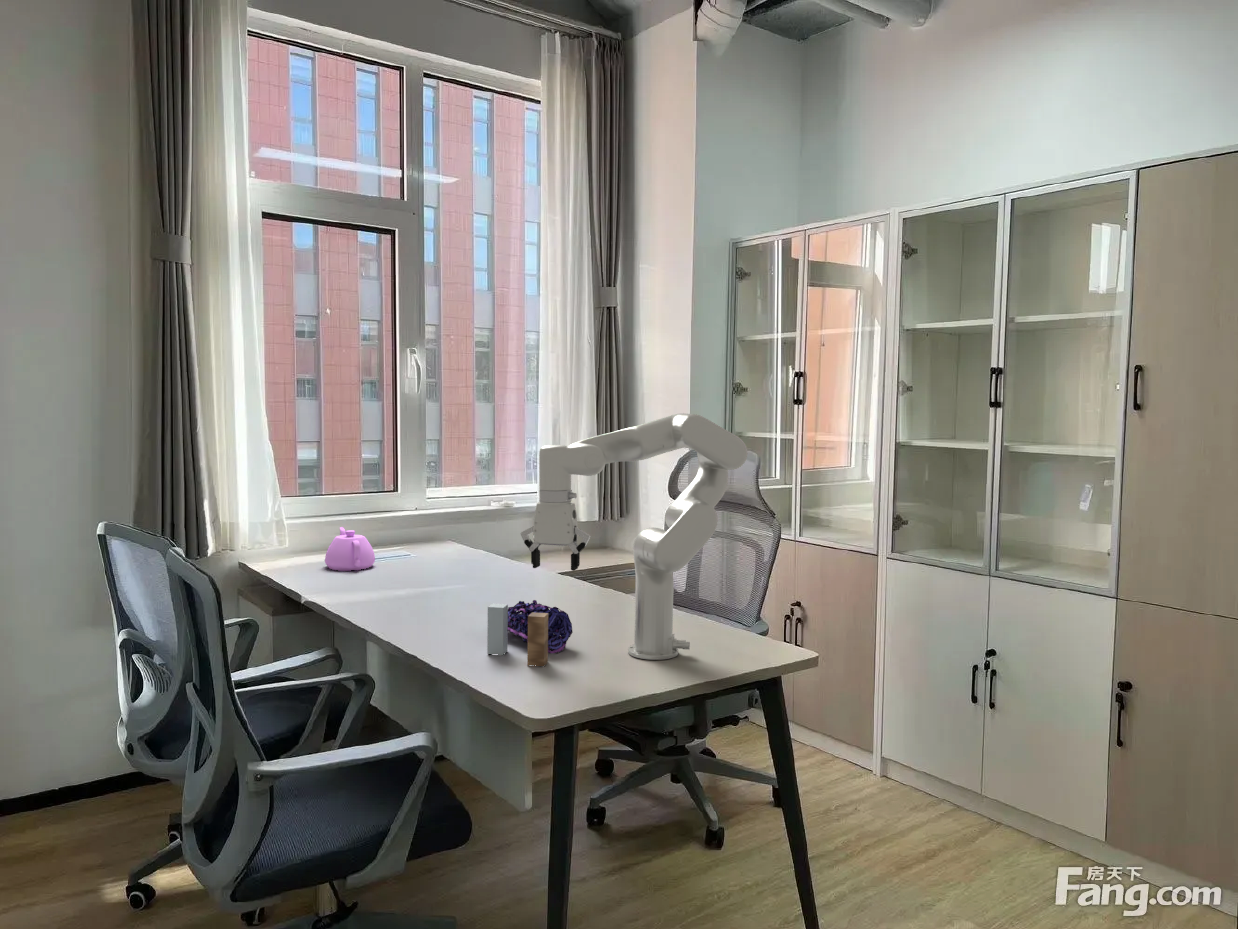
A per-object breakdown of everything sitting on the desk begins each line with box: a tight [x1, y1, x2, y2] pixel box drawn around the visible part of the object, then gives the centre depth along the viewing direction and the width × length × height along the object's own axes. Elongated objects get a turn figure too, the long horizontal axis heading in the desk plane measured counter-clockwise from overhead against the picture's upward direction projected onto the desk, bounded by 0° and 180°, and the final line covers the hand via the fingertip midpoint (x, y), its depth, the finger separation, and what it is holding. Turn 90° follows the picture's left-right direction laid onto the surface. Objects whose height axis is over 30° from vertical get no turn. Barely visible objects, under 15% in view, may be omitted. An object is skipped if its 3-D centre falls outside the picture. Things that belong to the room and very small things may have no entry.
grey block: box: [486, 603, 509, 656], centre depth 228 cm, size 4×4×12 cm
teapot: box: [324, 526, 376, 572], centre depth 338 cm, size 25×18×14 cm
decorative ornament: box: [508, 599, 573, 654], centre depth 241 cm, size 13×11×30 cm
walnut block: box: [526, 612, 549, 667], centre depth 219 cm, size 4×4×12 cm
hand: (555, 568), depth 219 cm, fingers open, 9 cm apart
